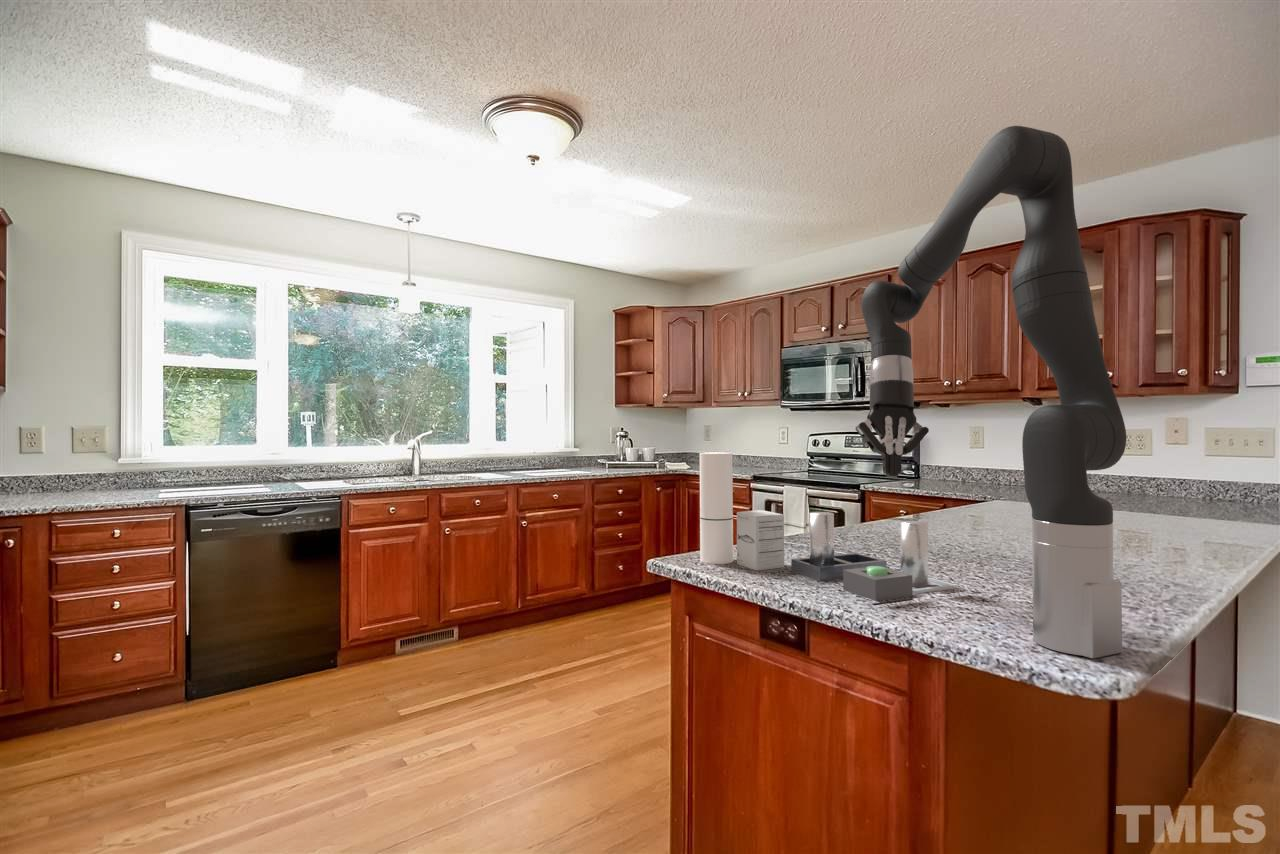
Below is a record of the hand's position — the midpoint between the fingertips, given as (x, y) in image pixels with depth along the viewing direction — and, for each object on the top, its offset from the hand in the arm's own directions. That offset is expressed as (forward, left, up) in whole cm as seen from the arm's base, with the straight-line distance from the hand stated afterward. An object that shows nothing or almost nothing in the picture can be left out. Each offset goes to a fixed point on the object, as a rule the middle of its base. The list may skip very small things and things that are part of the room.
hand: (892, 476), depth 112 cm
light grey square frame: (+1, -6, -21) cm, 22 cm away
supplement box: (+26, +11, -22) cm, 36 cm away
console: (-1, +5, -21) cm, 22 cm away
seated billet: (+14, +5, -20) cm, 25 cm away
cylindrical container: (+34, +17, -22) cm, 44 cm away
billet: (+1, -6, -21) cm, 22 cm away
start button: (-1, +5, -19) cm, 19 cm away
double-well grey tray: (+14, +1, -21) cm, 26 cm away
